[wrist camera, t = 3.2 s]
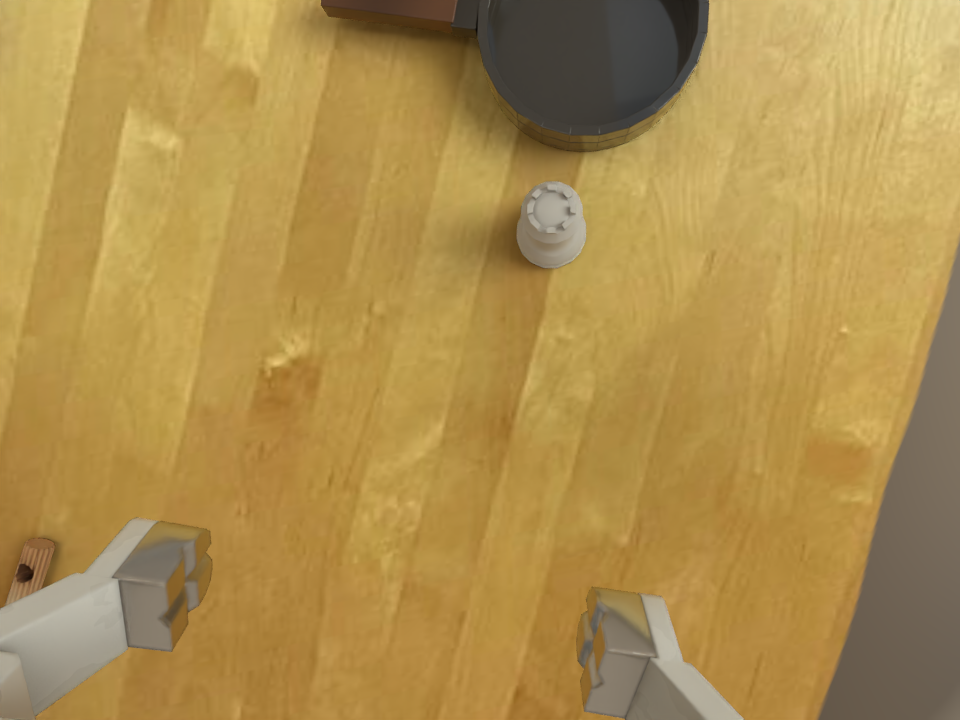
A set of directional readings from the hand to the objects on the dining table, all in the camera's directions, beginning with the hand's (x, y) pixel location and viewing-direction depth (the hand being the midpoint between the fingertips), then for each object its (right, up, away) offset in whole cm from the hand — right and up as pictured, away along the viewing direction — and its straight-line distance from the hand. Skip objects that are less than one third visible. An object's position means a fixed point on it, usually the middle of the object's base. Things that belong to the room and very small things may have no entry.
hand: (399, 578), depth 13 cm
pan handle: (-3, +27, +24) cm, 36 cm away
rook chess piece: (+6, +13, +26) cm, 29 cm away
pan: (+8, +25, +25) cm, 36 cm away
